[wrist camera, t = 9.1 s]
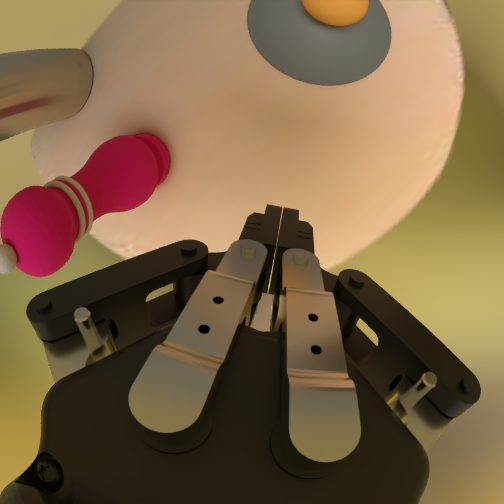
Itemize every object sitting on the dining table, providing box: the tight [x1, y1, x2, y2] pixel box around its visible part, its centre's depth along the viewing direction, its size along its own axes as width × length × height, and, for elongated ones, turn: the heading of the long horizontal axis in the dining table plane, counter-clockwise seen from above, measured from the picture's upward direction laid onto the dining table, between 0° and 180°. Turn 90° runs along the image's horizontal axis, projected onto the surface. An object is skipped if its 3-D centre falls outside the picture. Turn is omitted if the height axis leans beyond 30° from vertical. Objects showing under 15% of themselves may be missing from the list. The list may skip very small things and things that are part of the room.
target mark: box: [247, 0, 391, 85], centre depth 17 cm, size 13×13×1 cm
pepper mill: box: [0, 133, 170, 277], centre depth 19 cm, size 7×7×20 cm
